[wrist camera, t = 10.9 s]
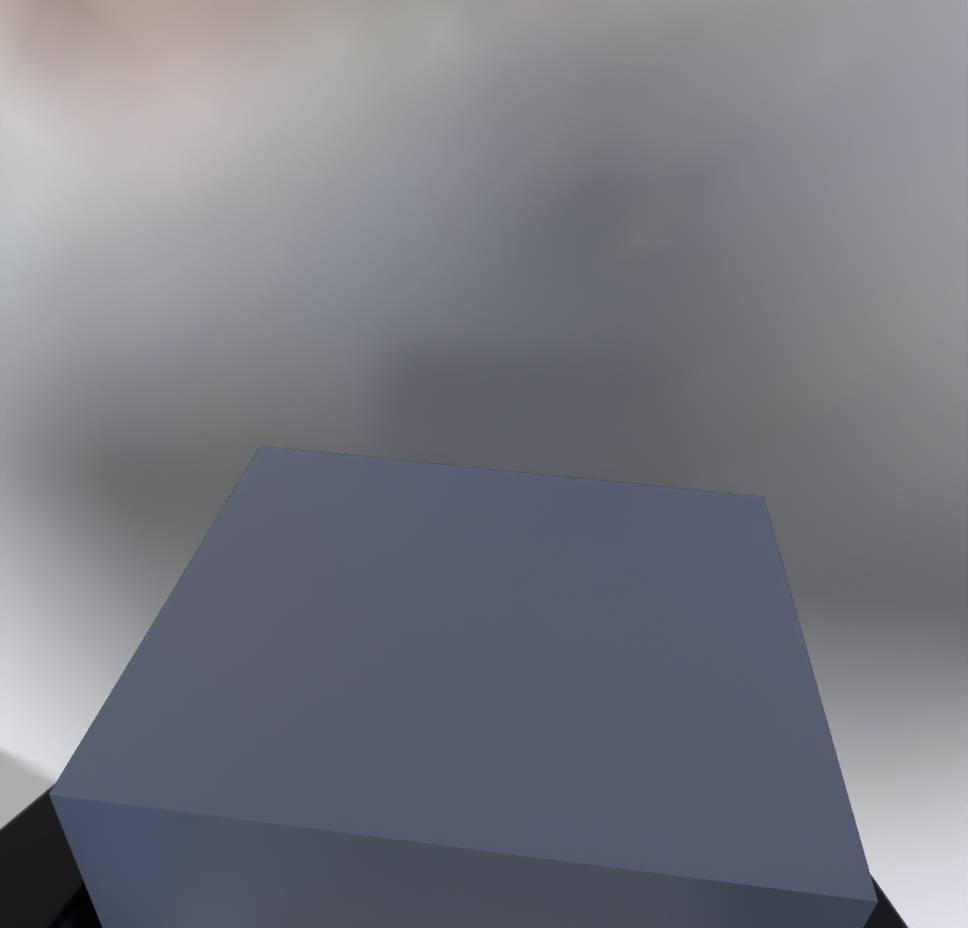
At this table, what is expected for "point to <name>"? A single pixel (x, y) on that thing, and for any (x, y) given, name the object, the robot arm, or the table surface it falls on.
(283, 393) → the table surface
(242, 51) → the table surface
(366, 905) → the navy brick
